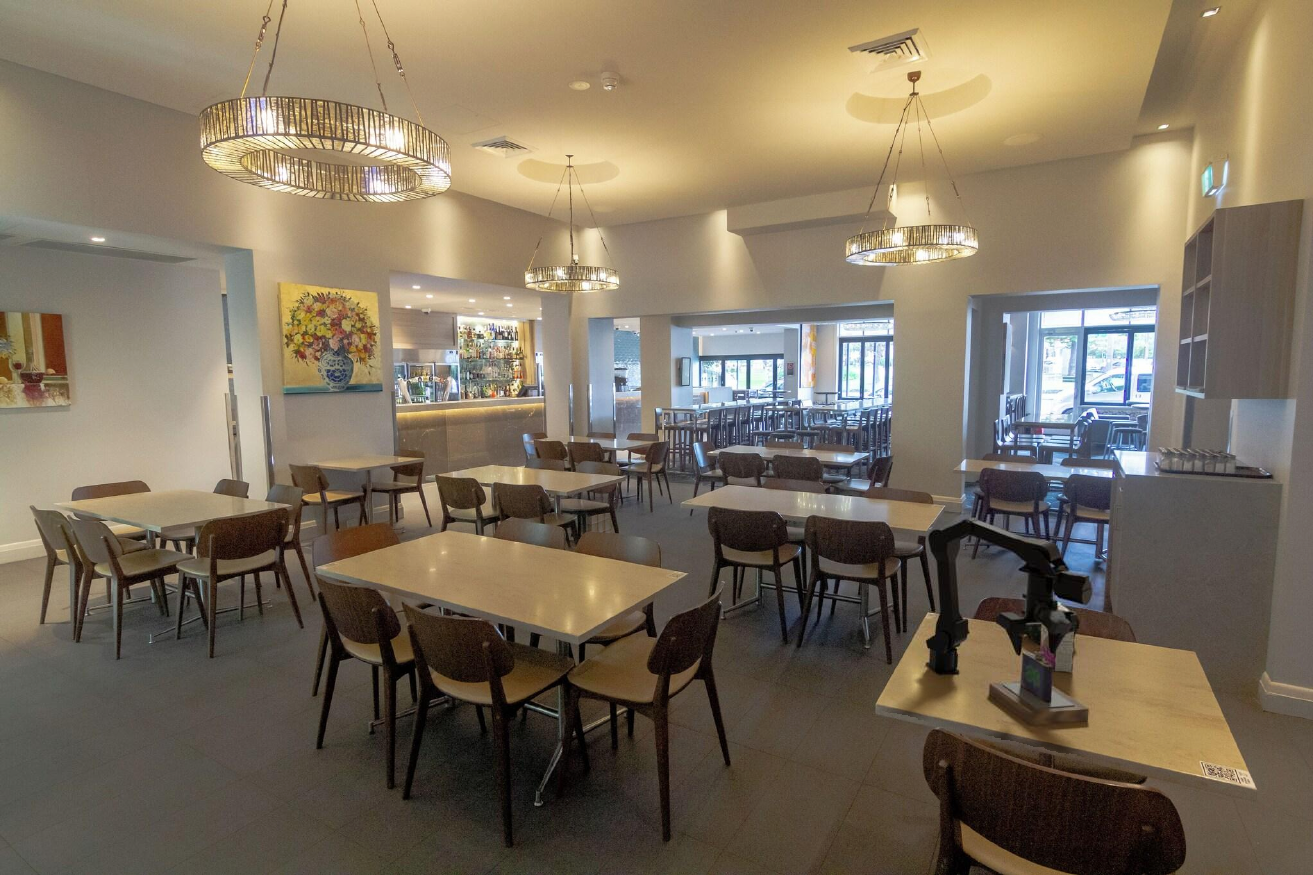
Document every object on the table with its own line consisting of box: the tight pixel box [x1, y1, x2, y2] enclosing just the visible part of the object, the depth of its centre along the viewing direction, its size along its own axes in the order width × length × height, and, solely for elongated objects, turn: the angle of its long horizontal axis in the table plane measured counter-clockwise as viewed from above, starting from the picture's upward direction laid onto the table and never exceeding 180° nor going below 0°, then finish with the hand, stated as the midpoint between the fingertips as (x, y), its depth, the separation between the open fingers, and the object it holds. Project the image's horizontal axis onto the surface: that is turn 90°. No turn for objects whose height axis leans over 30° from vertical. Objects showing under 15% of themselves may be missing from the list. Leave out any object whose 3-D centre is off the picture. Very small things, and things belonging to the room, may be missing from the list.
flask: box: [1020, 651, 1054, 703], centre depth 160 cm, size 9×3×11 cm, turn 8°
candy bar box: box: [1039, 601, 1076, 674], centre depth 184 cm, size 11×5×16 cm, turn 168°
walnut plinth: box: [988, 680, 1090, 726], centre depth 161 cm, size 15×15×3 cm
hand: (1035, 654), depth 161 cm, fingers open, 9 cm apart
